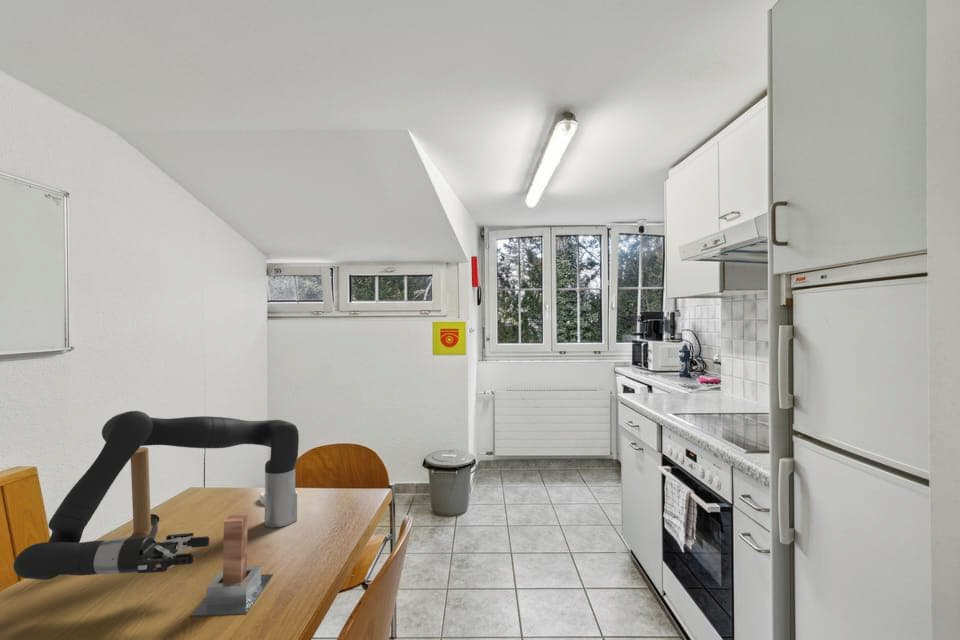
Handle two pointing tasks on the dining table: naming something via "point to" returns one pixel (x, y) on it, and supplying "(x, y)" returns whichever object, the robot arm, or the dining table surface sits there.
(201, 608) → the socket base
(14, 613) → the dining table surface
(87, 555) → the robot arm
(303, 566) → the dining table surface
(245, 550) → the square peg
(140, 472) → the hammer
